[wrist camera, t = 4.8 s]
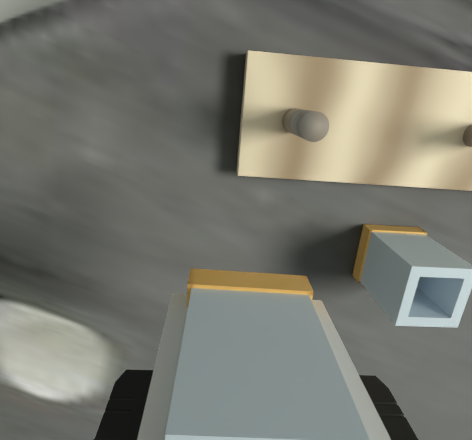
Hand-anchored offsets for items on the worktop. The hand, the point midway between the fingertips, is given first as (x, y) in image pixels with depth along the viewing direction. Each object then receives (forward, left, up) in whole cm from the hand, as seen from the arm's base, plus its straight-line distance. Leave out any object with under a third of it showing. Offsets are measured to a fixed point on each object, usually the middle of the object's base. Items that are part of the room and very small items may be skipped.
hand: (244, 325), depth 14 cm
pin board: (+10, +8, -13) cm, 18 cm away
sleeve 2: (+13, -2, -13) cm, 19 cm away
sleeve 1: (0, 0, 0) cm, 0 cm away
